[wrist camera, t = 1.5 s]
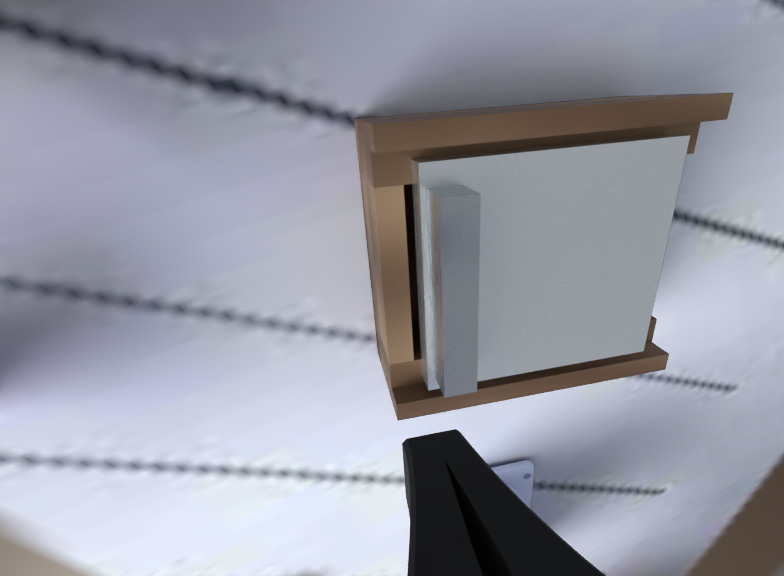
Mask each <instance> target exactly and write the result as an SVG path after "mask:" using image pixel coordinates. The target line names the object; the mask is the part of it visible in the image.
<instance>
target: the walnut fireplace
mask: <svg viewBox="0 0 784 576" xmlns="http://www.w3.org/2000/svg"><path fill="white" fill-rule="evenodd" d="M732 97H733V93H715V94H681V95H647V96H622V97H610V98H598V99H587V100H575V101H563V102H551V103H539V104H527V105H516V106H504V107H492V108H480V109H468V110H456V111H445V112H433V113H421V114H409V115H397V116H385V117H374V118H362V119H354V120H355V130H356V139H357V149H358V159H359V169H360V179H361V189H362V199H363V209H364V218H365V228H366V238H367V248H368V258H369V268H370V278H371V288H372V297H373V307H374V317H375V327H376V337H377V347H378V354H379V358H380V361H381V365H382V368H383V371H384V375H385V378H386V382H387V385H388V389H389V392H390V395H391V399H392V402H393V406H394V409H395V413H396V416H397V419H398V420H403V419H409V418H414V417H419V416H424V415H430V414H435V413H440V412H445V411H450V410H456V409H461V408H466V407H471V406H477V405H482V404H487V403H492V402H497V401H503V400H508V399H513V398H518V397H524V396H529V395H534V394H539V393H544V392H550V391H555V390H560V389H565V388H571V387H576V386H581V385H586V384H592V383H597V382H602V381H607V380H612V379H618V378H623V377H628V376H633V375H639V374H644V373H649V372H654V371H659V370H665V368H666V364H667V360H668V356H669V354H668V353H667V352H665V351H664V350H662V349H661V348H659V347H658V346H656V345H655V344H653V343H652V338H653V333H654V329H655V324H656V320H657V319H656V318H654V317H653V316H651V320H650V324H649V329H648V333H647V338H646V343H645V347H644V351H642V352H637V353H631V354H626V355H620V356H615V357H609V358H604V359H598V360H593V361H587V362H582V363H576V364H571V365H565V366H560V367H554V368H549V369H544V370H538V371H533V372H527V373H522V374H516V375H511V376H505V377H500V378H494V379H489V380H483V381H478V382H477V392H473V393H467V394H462V395H457V396H451V397H446V398H444V396H443V393H442V391H441V389H434V390H429V391H428V388H427V386H426V384H425V381H424V379H423V377H422V367H421V347H420V327H419V307H418V287H417V267H416V247H415V227H414V207H413V187H412V167H411V159H417V158H427V157H437V156H447V155H457V154H467V153H477V152H487V151H497V150H507V149H517V148H527V147H537V146H547V145H557V144H567V143H577V142H587V141H597V140H607V139H617V138H627V137H637V136H647V135H657V134H680V135H690V139H689V144H688V148H687V153H686V154H692V153H694V149H695V145H696V140H697V136H698V131H699V127H700V122H703V121H714V120H724V119H727V117H728V113H729V109H730V105H731V101H732Z"/></svg>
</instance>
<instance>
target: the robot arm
mask: <svg viewBox="0 0 784 576" xmlns="http://www.w3.org/2000/svg"><path fill="white" fill-rule="evenodd" d="M402 446H403V460H404V473H405V487H406V498H407V503H408V508H409V514H410V543H409V561H408V576H605V575H604V574H603V573H602V572H600V571H599V570H598V569H597V568H596V567H594V566H593V565H592V564H591V563H590V562H588V561H587V560H586V559H585V558H584V557H582V556H581V555H580V554H579V553H578V552H577V551H575V550H574V549H573V548H572V547H571V546H570V545H569V544H567V543H566V542H565V541H564V540H563V539H562V538H561V537H560V536H559V535H557V534H556V533H555V532H554V531H553V530H552V529H551V528H550V527H549V526H548V525H547V524H546V523H544V522H543V521H542V520H541V519H540V518H539V517H538V516H537V515H536V514H535V513H534V512H533V511H532V510H531V500H532V489H533V479H534V469H535V468H534V465H533V464H532V462H531V461H529V460H525V461H520V462H515V463H511V464H506V465H501V466H497V467H492V468H490V467H489V466H488V464H487V463H486V462H485V461H484V460H483V459H482V458H481V457H480V455H479V454H478V453H477V452H476V451H475V450H474V448H473V447H472V446H471V445H470V444H469V443H468V441H467V440H466V439H465V438H464V436H463V435H462V434H461V433H460V432H459V431H458V430H456V429H455V430H450V431H445V432H439V433H434V434H429V435H424V436H419V437H414V438H409V439H406V440H405V441H404V442H403V443H402Z"/></svg>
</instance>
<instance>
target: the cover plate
mask: <svg viewBox="0 0 784 576" xmlns="http://www.w3.org/2000/svg"><path fill="white" fill-rule="evenodd" d="M689 139H690V135H680V134H657V135H647V136H637V137H627V138H617V139H607V140H597V141H587V142H577V143H567V144H557V145H547V146H537V147H527V148H517V149H507V150H497V151H487V152H477V153H467V154H457V155H447V156H437V157H427V158H417V159H411V167H412V187H413V207H414V227H415V247H416V267H417V287H418V307H419V327H420V347H421V367H422V377H423V379H424V381H425V384H426V386H427V388H428V391H429V390H434V389H441V391H442V393H443V396H444V398H446V397H451V396H457V395H462V394H467V393H473V392H477V382H478V381H483V380H489V379H494V378H500V377H505V376H511V375H516V374H522V373H527V372H533V371H538V370H544V369H549V368H554V367H560V366H565V365H571V364H576V363H582V362H587V361H593V360H598V359H604V358H609V357H615V356H620V355H626V354H631V353H637V352H642V351H644V347H645V343H646V338H647V333H648V329H649V324H650V320H651V315H652V310H653V306H654V301H655V296H656V292H657V287H658V282H659V278H660V273H661V269H662V264H663V259H664V255H665V250H666V245H667V241H668V236H669V232H670V227H671V222H672V218H673V213H674V208H675V204H676V199H677V195H678V190H679V185H680V181H681V176H682V171H683V167H684V162H685V157H686V153H687V148H688V144H689Z"/></svg>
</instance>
